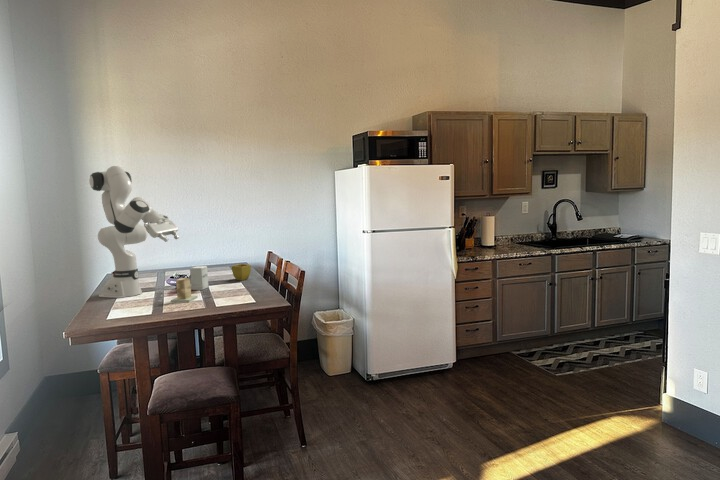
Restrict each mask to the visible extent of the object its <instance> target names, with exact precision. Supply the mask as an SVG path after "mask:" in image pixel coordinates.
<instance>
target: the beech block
mask: <svg viewBox="0 0 720 480" xmlns="http://www.w3.org/2000/svg"><path fill="white" fill-rule="evenodd" d="M175 283H176V296H177V298H178V299H187V298H190V297H191V296H192V290H191V277H190V278H189V277H188V278H187V277H181V278H177V279H176V280H175Z"/></svg>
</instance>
